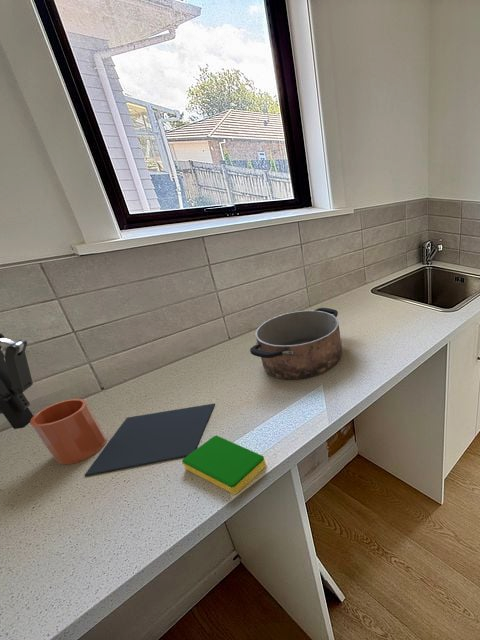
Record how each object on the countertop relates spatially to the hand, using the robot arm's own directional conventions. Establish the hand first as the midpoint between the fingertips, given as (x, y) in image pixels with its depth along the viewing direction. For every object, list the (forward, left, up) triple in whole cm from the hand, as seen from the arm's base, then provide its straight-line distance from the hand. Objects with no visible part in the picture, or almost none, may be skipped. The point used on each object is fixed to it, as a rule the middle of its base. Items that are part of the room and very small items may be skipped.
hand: (24, 423), depth 63 cm
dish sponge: (+35, -13, -9) cm, 38 cm away
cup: (+6, 0, -9) cm, 10 cm away
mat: (+19, 0, -9) cm, 21 cm away
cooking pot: (+48, +24, -9) cm, 55 cm away
